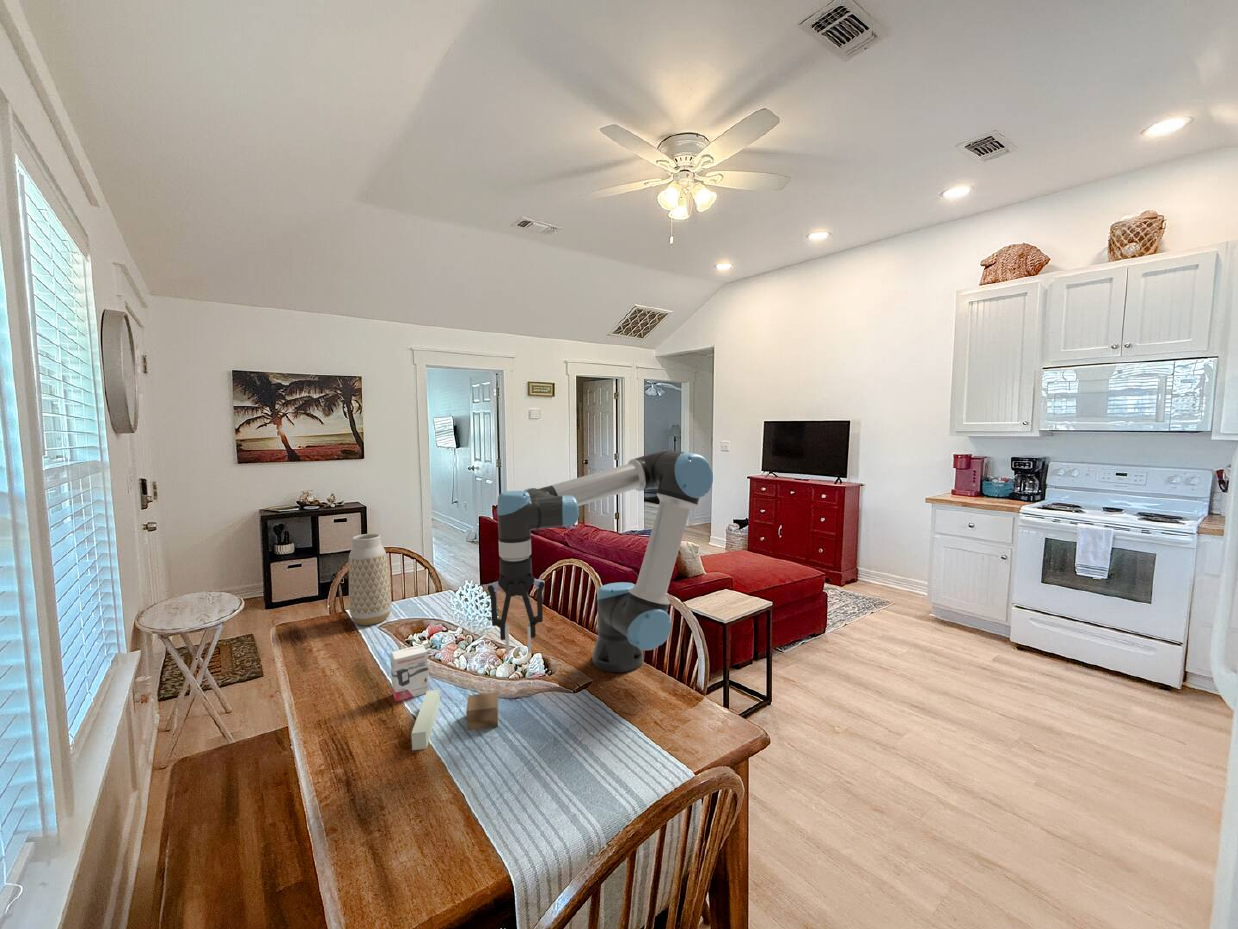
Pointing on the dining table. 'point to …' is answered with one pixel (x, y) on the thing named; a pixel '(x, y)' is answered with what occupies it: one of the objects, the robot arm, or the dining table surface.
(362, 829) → the dining table surface
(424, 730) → the board
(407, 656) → the ink box
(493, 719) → the push block
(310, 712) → the dining table surface
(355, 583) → the vase
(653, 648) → the robot arm
